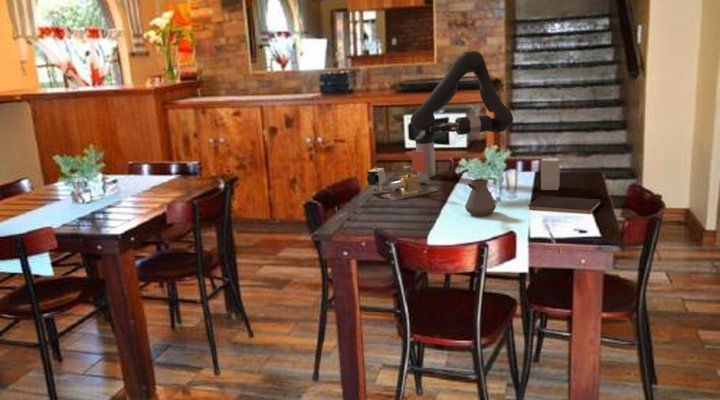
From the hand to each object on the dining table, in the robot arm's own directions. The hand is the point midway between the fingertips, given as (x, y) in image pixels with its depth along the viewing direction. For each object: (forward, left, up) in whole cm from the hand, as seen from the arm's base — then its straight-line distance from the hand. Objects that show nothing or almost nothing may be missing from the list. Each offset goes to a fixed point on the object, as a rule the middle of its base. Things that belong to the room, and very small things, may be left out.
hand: (430, 129), depth 267 cm
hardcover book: (+28, +50, -30) cm, 65 cm away
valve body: (-6, -11, -29) cm, 32 cm away
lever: (-2, -7, -18) cm, 20 cm away
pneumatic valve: (-11, -26, -29) cm, 41 cm away
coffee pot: (+39, +17, -29) cm, 52 cm away
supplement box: (-5, +50, -29) cm, 58 cm away
